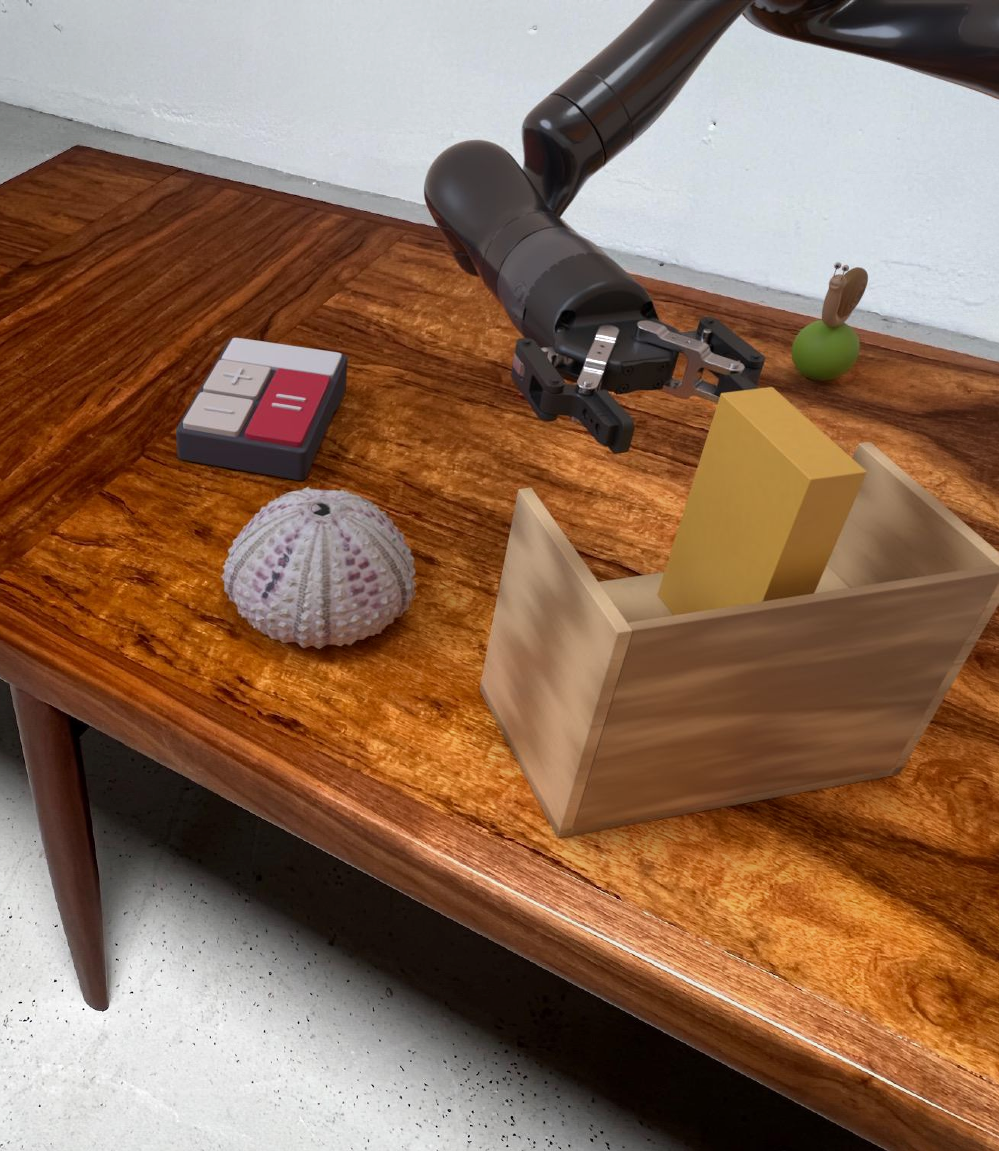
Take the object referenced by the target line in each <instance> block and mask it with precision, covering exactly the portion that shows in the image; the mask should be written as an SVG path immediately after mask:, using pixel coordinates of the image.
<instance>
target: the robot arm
mask: <svg viewBox="0 0 999 1151" xmlns="http://www.w3.org/2000/svg"><path fill="white" fill-rule="evenodd" d="M741 16H743V18H744V19H745V20H746V21H747V22H749V23H750V24H752V25H753V26H754V27H756V28H757V29H760V30H762V31H764V32H766V33H769V34H770V35H774V36H776V37H777V36H778V37H781V38H785V39H788V40H791V41H795V42H800V43H803V44H809V45H813V46H815V47H816V46H817V47H821V48H826V49H830V50H834V51H838V52H843V53H846V54H847V53H848V54H852V55H856V56H860V57H865V58H870V59H873V60H877V61H880V62H884V63H889V64H892V65H895V66H897V67H901V68H904V69H907V70H910V71H913V72H916V73H918V74H922V75H925V76H927V77H928V76H929V77H931V78H934V79H937V80H941V81H944V82H947V83H950V84H954V85H956V86H960V87H963V88H966V89H969V90H972V91H975V92H978V93H980V94H983V95H986V96H989V97H991V98H993V99H996V100H998V101H999V0H653V1H652V2H650V4H649V5H648V6H647V7H646V8H645V9H644V10H643V11H642V12H641V13H640V14H639V15H638V16H637V17H636V18H635V19H634V20H633V22H631V23H630V24H629V26H627V27H626V28H625V29H624V30H623V31H622V32H621V33H620V34H618V35H617V37H615V38H614V39H613V40H612V41H611V42H610V43H609V44H608V45H607V46H605V47H604V48H603V49H602V50H601V51H599V52H598V53H597V54H596V55H595V56H594V57H593V58H592V59H591V60H589V61H588V62H587V63H585V64H584V65H583V66H582V67H581V68H579V69H578V70H577V71H576V72H575V73H573V74H572V75H571V76H570V77H568V78H567V79H566V80H565V81H563V83H561V84H560V85H559V86H558V87H557V88H555V89H554V90H553V91H552V92H550V93H549V94H548V95H547V96H546V97H544V98H543V99H542V100H541V101H540V102H539V103H538V104H536V105H535V106H534V107H533V108H532V109H530V111H529V112H528V113H527V115H526V116H525V117H524V118H523V121H522V125H521V129H520V130H521V131H520V132H521V133H520V135H521V143H522V153H523V164H522V167H521V165H520V164H519V163H518V162H517V160H516V159H515V157H514V156H513V155H512V154H511V153H510V152H509V151H508V150H507V149H506V148H504V147H502V146H501V145H499V144H498V143H495V142H492V141H489V140H485V139H484V140H483V139H468V140H462V141H460V142H457V143H454V144H453V145H450V146H449V147H448V148H447V147H446V149H444V150H443V151H442V152H441V153H440V154H439V155H438V156H437V157H436V158H435V159H434V160H433V162H432V163H431V165H430V166H429V168H428V169H427V173H426V175H425V179H424V183H423V197H424V201H425V204H426V208H427V210H428V211H429V214H430V215H431V217H432V219H433V221H434V223H435V225H436V227H437V229H438V230H439V233H440V234H441V236H442V238H443V240H444V242H445V243H446V246H447V247H448V249H449V252H450V254H451V255H452V257H453V260H454V261H455V263H456V264H457V265H458V267H459V268H460V269H461V270H462V271H463V272H464V273H466V274H468V275H469V276H472V277H477V278H480V280H481V282H482V283H483V285H484V286H485V288H486V290H488V291H489V292H490V294H491V295H492V296H493V297H494V299H495V300H496V301H497V302H498V304H500V306H501V308H503V309H504V311H505V312H506V315H507V317H508V319H509V320H510V322H511V323H512V325H513V327H515V329H516V330H517V331H518V333H519V334H520V335H521V336H522V337H521V338H518V339H517V340H516V343H515V350H514V354H513V358H512V359H513V360H512V364H511V365H512V366H511V372H510V377H511V380H512V381H513V382H514V383H515V385H516V387H517V388H518V390H519V391H520V393H521V394H522V396H523V397H524V399H525V400H526V402H527V403H528V405H529V406H530V408H531V409H532V410H533V413H534V415H536V417H537V418H538V419H539V420H540V421H542V422H547V423H549V422H550V423H551V422H555V421H557V420H558V417H559V416H567V417H568V418H569V420H570V421H572V422H573V423H576V424H581V425H583V427H584V428H585V429H586V430H587V432H589V434H590V435H591V436H592V437H593V439H594V440H595V441H596V443H598V444H600V445H601V446H602V447H604V448H606V447H607V448H608V449H609V450H610V451H611V453H612V454H614V455H619V454H625V453H628V452H629V451H630V448H631V445H632V440H633V436H634V434H635V428H636V427H635V426H636V425H635V422H634V419H633V418H632V417H631V415H630V414H628V412H627V411H626V410H625V409H624V408H623V407H622V406H621V404H620V403H619V402H618V401H617V400H616V399H615V397H613V396H612V395H611V393H614V394H615V395H616V396H618V395H626V394H630V393H635V392H637V391H649V392H650V391H658V392H661V393H664V394H667V395H670V396H673V397H675V398H679V399H680V400H681V399H682V400H688V399H690V398H691V397H693V396H695V397H698V398H701V399H703V400H706V401H708V402H712V403H715V404H716V405H717V404H718V401H719V398H720V395H721V393H727V392H735V391H743V390H751V389H759V388H760V387H758V383H759V380H760V377H761V374H762V371H763V368H764V365H765V362H766V359H767V357H766V356H765V355H764V354H763V353H761V352H760V351H758V350H757V349H756V348H754V347H753V346H752V345H751V344H749V343H748V342H747V341H745V339H743V338H742V337H740V336H739V335H738V334H737V333H735V332H734V331H733V330H731V329H730V328H729V327H727V325H725V324H723V322H721V321H720V320H718V319H717V318H715V317H710V316H703V317H701V318H699V320H698V324H697V328H696V329H691V330H684V331H680V330H679V329H678V328H677V327H675V326H673V325H670V324H668V323H665V322H663V321H661V320H660V318H659V315H658V313H657V311H656V308H655V304H654V302H653V298H652V297H651V295H650V294H649V292H648V291H647V289H646V288H645V287H643V285H641V284H640V282H639V281H637V280H636V279H635V278H634V277H633V276H632V275H631V274H630V273H629V272H627V271H626V270H625V269H624V268H623V267H622V266H621V265H620V264H618V263H617V262H616V261H615V259H613V258H612V257H611V256H610V255H608V254H607V253H606V252H605V251H604V250H603V249H602V248H601V247H600V246H598V245H597V244H596V243H595V242H594V241H591V240H590V239H588V238H586V237H584V236H583V235H581V234H579V232H577V231H576V230H575V229H574V228H573V227H572V226H571V225H569V224H568V223H567V222H566V220H565V219H563V218H562V216H563V215H564V213H565V212H566V210H567V209H568V208H569V206H570V205H571V204H572V203H573V201H574V200H575V198H576V197H577V196H578V195H579V193H580V191H581V190H582V189H583V187H584V186H585V185H586V183H587V181H589V179H591V177H593V176H594V175H595V174H597V173H598V172H599V171H600V170H601V169H602V168H604V167H605V166H606V165H607V164H609V163H610V162H611V161H613V159H615V158H616V157H617V156H618V155H619V154H621V153H622V152H623V151H624V150H626V149H627V148H628V147H629V146H631V144H633V143H635V141H637V140H638V139H640V137H642V135H643V134H644V133H646V132H647V131H648V129H649V128H651V126H652V125H654V123H655V122H656V121H658V120H659V118H661V116H662V115H663V114H664V112H666V111H667V109H669V107H670V106H671V104H672V103H673V102H674V101H675V99H676V98H677V97H678V95H679V94H680V93H681V91H682V90H683V89H684V87H685V86H686V84H687V83H688V81H689V80H690V79H691V78H692V76H693V75H694V73H695V72H696V70H698V68H699V66H700V65H701V64H702V62H703V61H704V60H705V58H706V57H707V56H708V54H709V53H711V50H712V49H713V48H714V47H715V45H716V44H717V43H718V42H719V40H720V39H721V38H722V37H723V35H724V34H726V32H727V31H728V29H730V27H731V26H732V25H734V23H735V22H736V21H737V20H738V18H739V17H741ZM680 354H682V355H684V356H685V357H686V359H687V362H686V367H685V369H684V373H683V377H682V380H681V379H678V378H675V377H673V376H674V373H675V370H676V366H677V363H678V358H679V356H680ZM705 370H708V371H709V372H710V373H711V374H712V375H713V376H715V377H716V379H718V380H717V383H716V384H713V383H710V382H707V381H705V380H704V379H703V374H704V371H705ZM566 382H569V383H573V384H567V383H566Z"/></svg>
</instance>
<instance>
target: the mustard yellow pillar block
mask: <svg viewBox="0 0 999 1151" xmlns="http://www.w3.org/2000/svg"><path fill="white" fill-rule="evenodd" d="M758 388H759V389H751V390H743V391H735V392H727V393H721V395H720V398H719V401H718V404H717V403H716V408H715V411H714V414H713V417H712V419H711V420H712V421H711V423H710V426H709V430H708V432H707V436H706V438H705V442H704V446H703V449H702V452H701V455H700V458H699V461H698V463H697V468H696V470H695V473H694V477H693V480H692V484H691V487H690V490H689V493H688V495H687V499H686V503H685V506H684V508H683V512H682V515H681V519H680V521H679V525H678V528H677V530H676V533H675V534H676V535H675V537H674V541H673V543H672V547H671V550H670V554H669V557H668V559H667V562H666V566H665V569H664V571H663V572H664V575H663V578H662V581H661V585H660V588H659V591H658V596H659V597H660V598H661V600H662V601H663V602H664V604H665V605H666V606H667V608H668V609H669V610H670V612H671V613H672V614H673V616H674V615H680V614H686V613H693V612H699V611H706V610H712V609H718V608H725V607H731V606H737V605H744V604H750V603H757V602H763V601H769V600H776V599H782V598H788V597H795V596H801V595H808V594H814V593H815V591H816V588H817V586H818V584H819V581H820V579H821V577H822V575H823V572H824V570H825V568H826V565H827V563H828V561H829V558H830V556H831V554H832V552H833V549H834V547H835V545H836V542H837V540H838V538H839V535H840V533H841V531H842V529H843V526H844V524H845V522H846V519H847V517H848V515H849V512H850V510H851V508H852V506H853V503H854V501H855V499H856V496H857V494H858V492H859V489H860V487H861V485H862V483H863V480H864V478H865V476H866V473H867V471H866V470H865V469H863V468H862V467H861V466H860V465H859V464H858V463H857V462H856V461H855V460H853V459H852V456H850V455H849V454H848V453H847V452H846V451H845V450H844V449H843V448H841V447H840V445H838V444H837V443H836V442H835V441H833V439H831V438H830V437H829V436H828V435H827V434H826V433H825V432H823V431H822V430H821V429H820V428H819V427H818V426H817V425H816V424H814V423H813V421H811V420H810V419H809V418H808V417H807V416H806V415H805V414H803V413H802V412H801V411H800V410H799V409H798V408H797V407H796V406H794V405H793V404H792V403H791V402H790V401H789V400H788V399H787V398H786V397H784V396H783V395H782V394H781V393H780V392H778V390H776V389H775V388H774V387H773V386H768V387H761V388H760V387H758Z"/></svg>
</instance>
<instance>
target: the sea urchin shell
mask: <svg viewBox="0 0 999 1151" xmlns="http://www.w3.org/2000/svg"><path fill="white" fill-rule="evenodd" d="M404 536H405V533H403V532H400V531H399V530H398V527H397V526H396V525H394V522H393V519H392V518H389V517H388V516H387V512H386V511H383V510H382V511H381V510H380V509H379V506H378V505H375V504H374V503H373V501H371V500H368V499H366V498H363V497H361V496H360V495H358V494H354V493H351V492H349V491H347V490H345V491H344V489H341V490H334V489H333V490H329V489H313V488H310V487H309V486H307V487H305V488H302V489H301V490H300V489H299V490H293V491H290V492H287V493H285V494H282V495H280V496H279V497H276V498H275V499H274V500H271V501H268V503H267V505H266V506H261V507H260V510H259V512H257V513H255V514H254V516H253V517H252V518H251V519H249V522H248V523H247V524H245V525H244V526H243V528H242V530H241V531H240V532H239V534H238V535H237V536H236V538H234V539H233V540H232V546H230V547H229V548H228V550H227V552H228V556H227V558H226V560H225V561H224V563H225V564H224V565H222V568H223V570H224V572H223V573H222V575H221V576H220V578H221V579H222V581H223V582H224V583H223V586H224V592H225V593H226V594H227V595H228V600H229V601H231V602H232V603H234V604H235V605H236V607H237V613H238V614H239V615H241V618H244V619H245V620H247V622H248V624H249V626H252V627H253V629H254V630H255V629H256V630H258V631H259V632H260V633H261V634H263V635H265V636H269V638H270V639H271V640H275V641H276V640H279V641H280V642H281V643H283V644H287V643H296V644H298V645H299V646H300V647H301V648H302V649H306V648H308V647H311V646H312V647H314V648H316V649H318V650H320V649H322V648H324V647H326V646H327V645H335V646H338V647H342V646H344V645H348V646H352V645H353V644H354V643H355V642H356V641H357V640H358V641H359V640H363V641H364V640H365V639H366V638H367V637H369V636H371V637H373V636H375V635H376V634H378V635H381V634H382V631H383V630H385V628H386V627H387V626H388V625H391V624H393V623H394V621H395V618H401V617H403V614H404V612H406V611H409V610H410V604H412V600H413V598H414V597H415V596H417V592H416V591H415V587H416V586H417V583H416V582H415V580H414V577H415V575H416V573H417V571H416V569H415V567H414V564H415V557H414V556H413V555H412V549H411V548H409V547H408V545H407V542H406V540H405V539H404V538H405V537H404Z"/></svg>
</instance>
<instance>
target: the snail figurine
mask: <svg viewBox="0 0 999 1151" xmlns="http://www.w3.org/2000/svg"><path fill="white" fill-rule="evenodd" d="M833 267H834V273H833V275H832V277H830V278H829V281H828V289H827V292H826V294H825V297H824V300H823V304H822V309H821V319H819V320H816V321H813V322H811V323H810V324H807V325H806V326H805V327H803V328H802V329H801V330H800V331H799V332H798V334H797V335H796V336H795V337H794V339H793V343H792V346H791V351H790V352H791V359H792V363H793V365H794V368H796V370H797V371H798V373H800V374H801V375H803V377H806V378H807V379H810V380H813V381H817V382H818V381H820V382H825V381H826V382H827V381H832V380H836V379H838V378H841V377H842V376H844V375H845V374H846V373H848V372H849V371H850V370H851V369H853V367H854V366H855V364H856V363H857V361H858V358H859V356H860V350H861V348H860V347H861V344H860V343H861V342H860V339H859V336H858V334H857V333H856V331H855V330H854V329H853V328H852V327H851V326H850V325H849V324H848V323H846V321H847V320H849V318H850V317H851V315H852V313H853V311H854V310H855V309H856V307H857V306H858V305H859V303H860V301H861V300H862V298H863V296H864V294H865V292H866V289H867V286H868V281H869V275H868V272H867V270H866V269H865V268H863V267H857V266H856V267H853V268H850V266H849V265H848V264H844V265H842V263H841V262H840V261H839V262H838V261H837V262H834V265H833ZM840 268H841V271H842V274H841V273H838V274H836V273H837V270H839V269H840Z"/></svg>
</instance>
